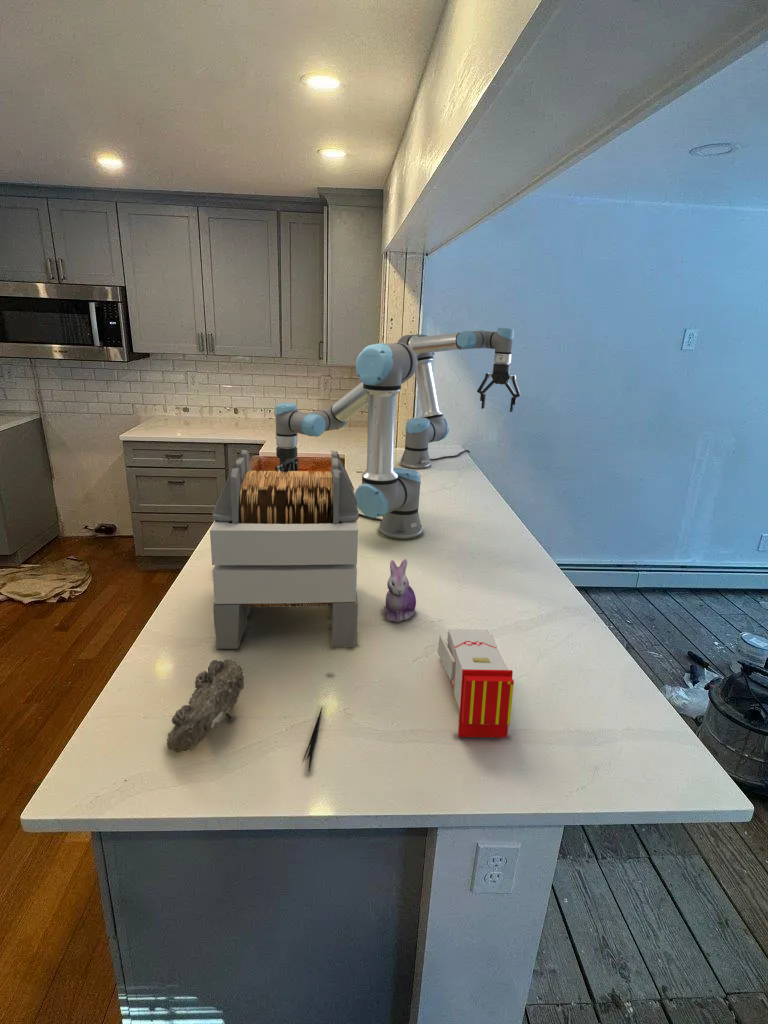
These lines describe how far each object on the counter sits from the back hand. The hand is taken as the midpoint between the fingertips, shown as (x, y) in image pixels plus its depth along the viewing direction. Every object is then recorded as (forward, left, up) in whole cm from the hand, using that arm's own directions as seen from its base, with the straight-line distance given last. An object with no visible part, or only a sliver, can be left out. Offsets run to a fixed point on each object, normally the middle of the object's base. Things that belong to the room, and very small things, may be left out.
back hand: (496, 410), depth 265 cm
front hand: (+97, -51, -29) cm, 113 cm away
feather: (+187, +20, -32) cm, 191 cm away
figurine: (+143, +17, -32) cm, 148 cm away
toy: (+165, +43, -32) cm, 173 cm away
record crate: (+157, -8, -32) cm, 160 cm away
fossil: (+196, +2, -32) cm, 199 cm away
